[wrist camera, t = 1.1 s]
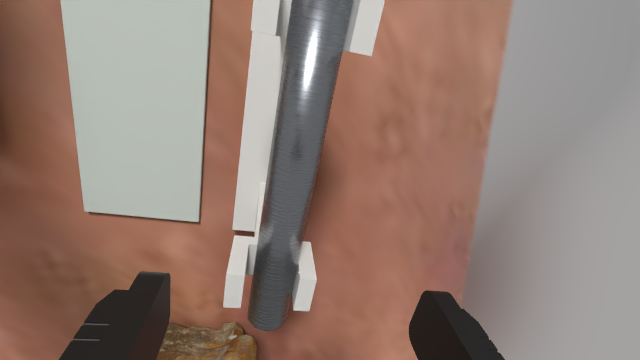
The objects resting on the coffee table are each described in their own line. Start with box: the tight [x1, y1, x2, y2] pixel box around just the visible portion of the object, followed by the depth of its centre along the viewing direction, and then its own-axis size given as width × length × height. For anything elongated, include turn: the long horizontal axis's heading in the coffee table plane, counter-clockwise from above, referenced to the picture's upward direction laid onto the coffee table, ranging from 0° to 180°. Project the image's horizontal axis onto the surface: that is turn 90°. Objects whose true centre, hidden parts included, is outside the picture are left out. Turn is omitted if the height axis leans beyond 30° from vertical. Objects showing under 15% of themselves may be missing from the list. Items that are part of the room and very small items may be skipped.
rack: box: [223, 0, 385, 311], centre depth 26 cm, size 8×28×16 cm, turn 169°
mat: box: [61, 0, 211, 222], centre depth 31 cm, size 12×28×1 cm, turn 169°
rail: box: [248, 0, 353, 331], centre depth 20 cm, size 26×3×3 cm, turn 169°
